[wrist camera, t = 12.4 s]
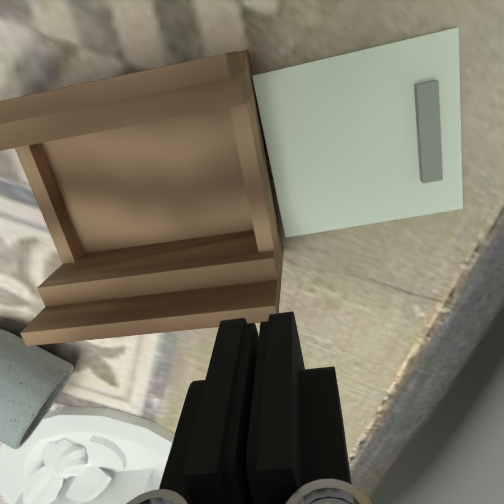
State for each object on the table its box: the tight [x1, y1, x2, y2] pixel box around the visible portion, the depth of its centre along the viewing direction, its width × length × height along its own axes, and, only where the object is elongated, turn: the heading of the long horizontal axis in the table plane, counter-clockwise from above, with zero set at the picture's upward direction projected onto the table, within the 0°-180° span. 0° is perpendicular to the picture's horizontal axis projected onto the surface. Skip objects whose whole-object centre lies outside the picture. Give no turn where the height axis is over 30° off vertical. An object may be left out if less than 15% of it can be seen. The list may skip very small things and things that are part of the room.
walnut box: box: [0, 50, 283, 346], centre depth 27 cm, size 14×16×9 cm
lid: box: [252, 27, 463, 238], centre depth 28 cm, size 11×12×2 cm
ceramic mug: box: [0, 329, 74, 449], centre depth 37 cm, size 11×8×8 cm
